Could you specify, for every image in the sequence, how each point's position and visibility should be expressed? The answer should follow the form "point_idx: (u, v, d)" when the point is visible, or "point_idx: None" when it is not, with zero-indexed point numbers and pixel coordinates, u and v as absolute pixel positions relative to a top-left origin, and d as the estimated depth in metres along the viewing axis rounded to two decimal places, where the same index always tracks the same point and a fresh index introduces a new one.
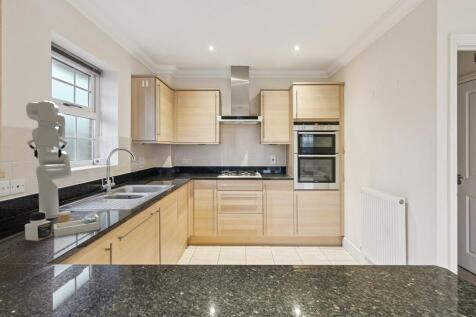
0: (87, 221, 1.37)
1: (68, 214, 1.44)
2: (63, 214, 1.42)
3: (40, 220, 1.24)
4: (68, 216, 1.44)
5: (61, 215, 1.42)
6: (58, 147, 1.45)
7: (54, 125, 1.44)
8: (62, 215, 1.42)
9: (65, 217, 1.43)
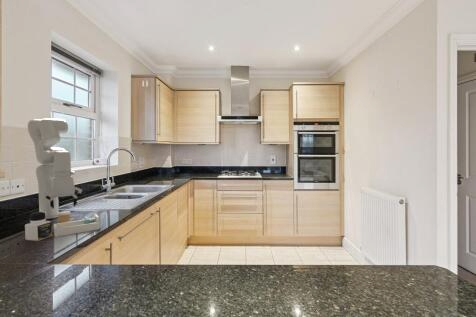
0: (87, 221, 1.37)
1: (68, 214, 1.44)
2: (63, 214, 1.42)
3: (40, 220, 1.24)
4: (68, 216, 1.44)
5: (61, 215, 1.42)
6: (73, 196, 1.46)
7: (70, 174, 1.44)
8: (62, 215, 1.42)
9: (65, 217, 1.43)
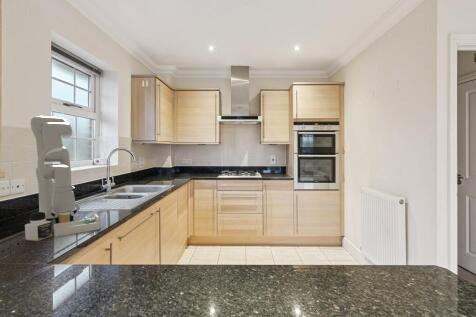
0: (87, 221, 1.37)
1: (68, 214, 1.44)
2: (63, 214, 1.42)
3: (40, 220, 1.24)
4: (68, 216, 1.44)
5: (61, 215, 1.42)
6: (71, 212, 1.45)
7: (70, 189, 1.45)
8: (62, 215, 1.42)
9: (65, 217, 1.43)
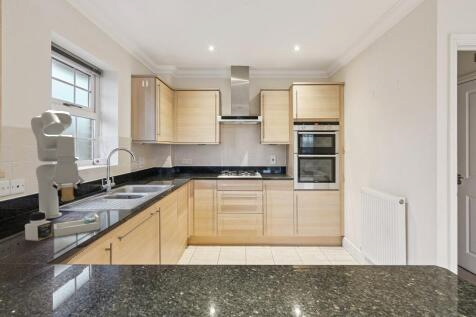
0: (87, 221, 1.37)
1: (71, 187, 1.34)
2: (66, 186, 1.32)
3: (40, 220, 1.24)
4: (71, 189, 1.34)
5: (64, 187, 1.32)
6: (74, 185, 1.36)
7: (74, 160, 1.35)
8: (65, 187, 1.32)
9: (68, 189, 1.33)
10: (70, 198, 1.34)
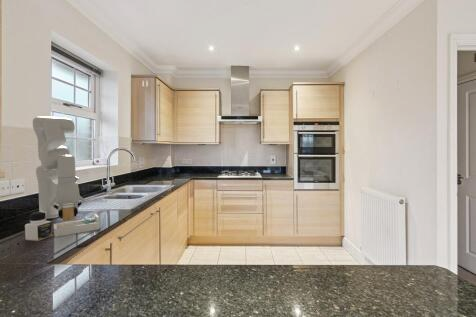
0: (87, 221, 1.37)
1: (72, 206, 1.35)
2: (67, 206, 1.33)
3: (40, 220, 1.24)
4: (72, 209, 1.35)
5: (65, 207, 1.33)
6: (75, 205, 1.36)
7: (74, 180, 1.35)
8: (66, 207, 1.33)
9: (69, 210, 1.33)
10: (71, 218, 1.34)
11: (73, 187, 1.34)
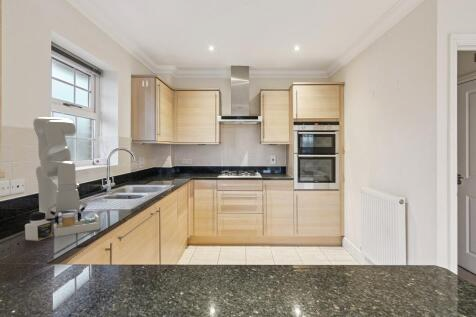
0: (87, 221, 1.37)
1: (72, 216, 1.35)
2: (67, 216, 1.33)
3: (40, 220, 1.24)
4: (72, 218, 1.35)
5: (65, 217, 1.33)
6: (78, 210, 1.37)
7: (75, 187, 1.35)
8: (66, 217, 1.33)
9: (69, 220, 1.34)
10: None
11: (73, 194, 1.35)
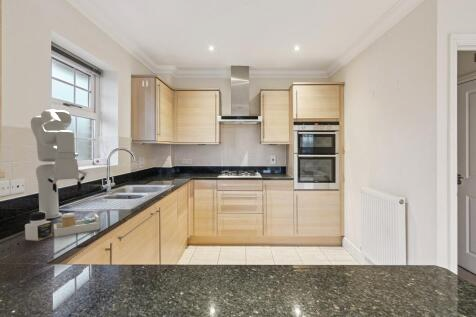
0: (87, 221, 1.37)
1: (72, 216, 1.35)
2: (67, 216, 1.33)
3: (40, 220, 1.24)
4: (72, 218, 1.35)
5: (65, 217, 1.33)
6: (77, 179, 1.36)
7: (73, 156, 1.35)
8: (66, 217, 1.33)
9: (69, 219, 1.34)
10: None
11: (72, 163, 1.34)
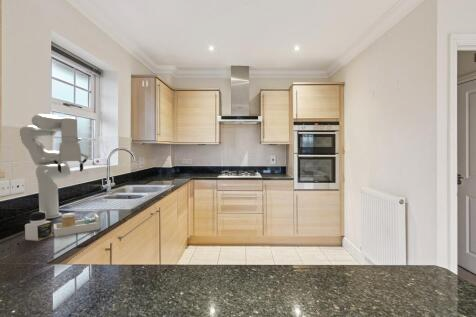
0: (87, 221, 1.37)
1: (73, 216, 1.35)
2: (68, 216, 1.33)
3: (40, 220, 1.24)
4: (73, 218, 1.35)
5: (65, 217, 1.33)
6: (80, 161, 1.51)
7: (76, 140, 1.49)
8: (66, 217, 1.33)
9: (70, 219, 1.34)
10: None
11: (75, 146, 1.48)
